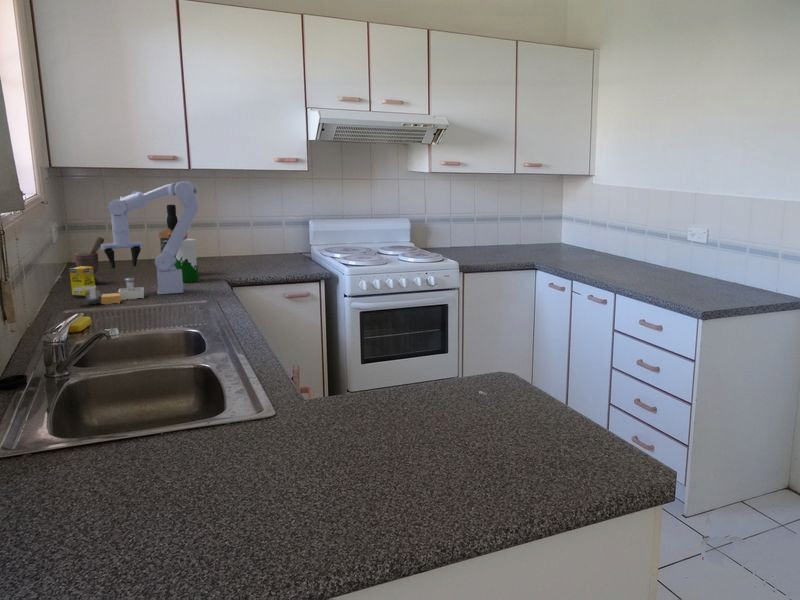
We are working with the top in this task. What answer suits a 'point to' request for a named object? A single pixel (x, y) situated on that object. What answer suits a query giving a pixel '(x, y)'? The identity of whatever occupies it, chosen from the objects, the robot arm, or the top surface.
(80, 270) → the supplement box
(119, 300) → the block
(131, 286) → the pin
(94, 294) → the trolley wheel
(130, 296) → the tray
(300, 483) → the top surface
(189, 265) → the milk carton
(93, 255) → the mortar and pestle
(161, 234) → the whiskey bottle
